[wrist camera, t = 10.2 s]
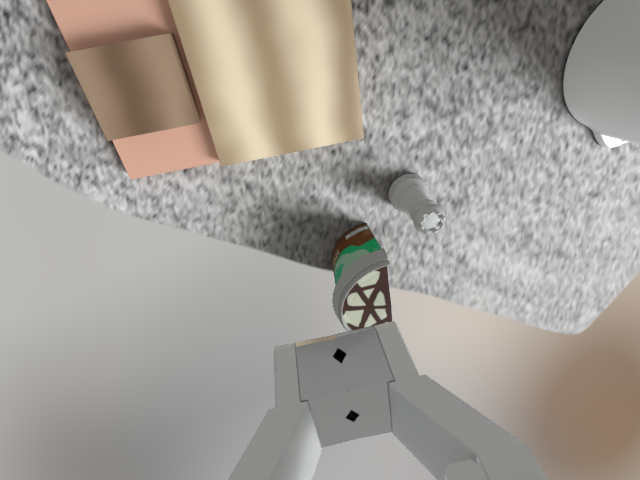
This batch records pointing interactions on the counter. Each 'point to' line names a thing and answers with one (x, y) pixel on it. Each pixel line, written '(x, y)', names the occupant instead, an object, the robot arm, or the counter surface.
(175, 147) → the salmon pink pad
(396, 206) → the rook chess piece
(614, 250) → the counter surface
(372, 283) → the food container
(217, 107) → the oak board
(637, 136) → the robot arm
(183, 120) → the walnut tile
